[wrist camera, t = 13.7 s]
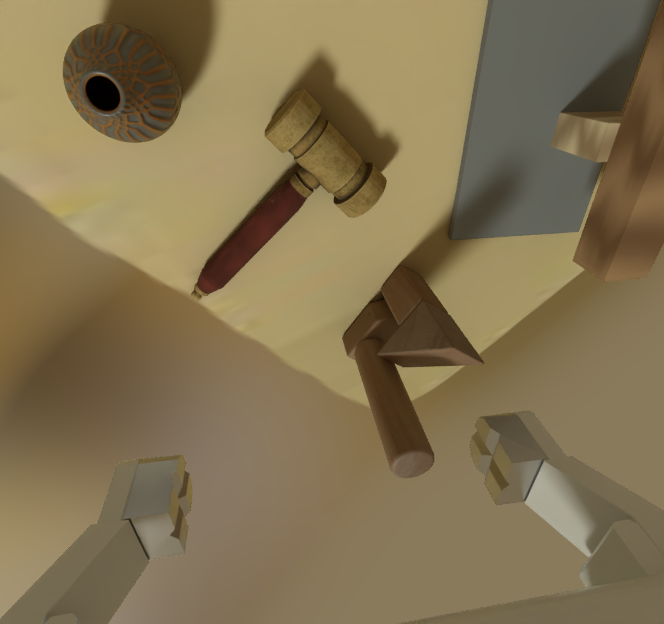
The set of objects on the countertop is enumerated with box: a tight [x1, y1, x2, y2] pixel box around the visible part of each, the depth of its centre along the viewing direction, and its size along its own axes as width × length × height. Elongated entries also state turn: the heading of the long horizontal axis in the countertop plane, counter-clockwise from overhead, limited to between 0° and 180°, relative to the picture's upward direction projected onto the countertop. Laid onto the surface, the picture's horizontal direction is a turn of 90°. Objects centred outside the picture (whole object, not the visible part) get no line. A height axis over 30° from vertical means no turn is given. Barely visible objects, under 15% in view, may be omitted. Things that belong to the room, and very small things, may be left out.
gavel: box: [191, 89, 387, 301], centre depth 36 cm, size 21×5×10 cm
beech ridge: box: [550, 111, 624, 162], centre depth 34 cm, size 3×6×6 cm, turn 90°
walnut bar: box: [573, 0, 664, 282], centre depth 30 cm, size 20×4×4 cm, turn 1°
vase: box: [63, 23, 182, 143], centre depth 27 cm, size 7×7×9 cm
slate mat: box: [449, 0, 661, 240], centre depth 36 cm, size 20×14×1 cm
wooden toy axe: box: [342, 266, 484, 478], centre depth 37 cm, size 4×11×18 cm, turn 146°
